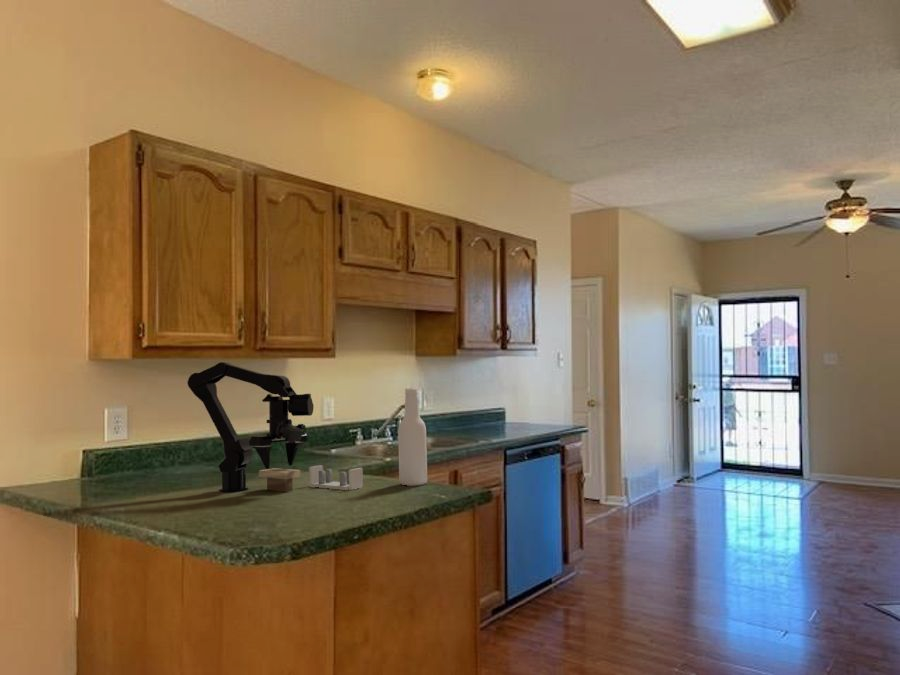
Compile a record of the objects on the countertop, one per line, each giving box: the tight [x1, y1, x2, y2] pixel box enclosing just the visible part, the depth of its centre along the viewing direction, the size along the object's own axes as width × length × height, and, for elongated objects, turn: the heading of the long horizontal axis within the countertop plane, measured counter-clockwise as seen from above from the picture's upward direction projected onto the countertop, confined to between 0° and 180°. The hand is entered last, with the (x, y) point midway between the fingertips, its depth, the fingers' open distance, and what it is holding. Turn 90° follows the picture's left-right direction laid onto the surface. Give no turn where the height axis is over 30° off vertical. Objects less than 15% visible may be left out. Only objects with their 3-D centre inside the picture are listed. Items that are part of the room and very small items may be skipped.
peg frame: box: [308, 464, 364, 491], centre depth 216 cm, size 7×18×6 cm, turn 56°
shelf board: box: [258, 467, 302, 479], centre depth 212 cm, size 6×12×2 cm, turn 56°
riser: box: [266, 478, 293, 493], centre depth 212 cm, size 3×8×4 cm, turn 56°
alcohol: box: [397, 387, 428, 487], centre depth 218 cm, size 9×9×30 cm
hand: (279, 467), depth 213 cm, fingers open, 9 cm apart
